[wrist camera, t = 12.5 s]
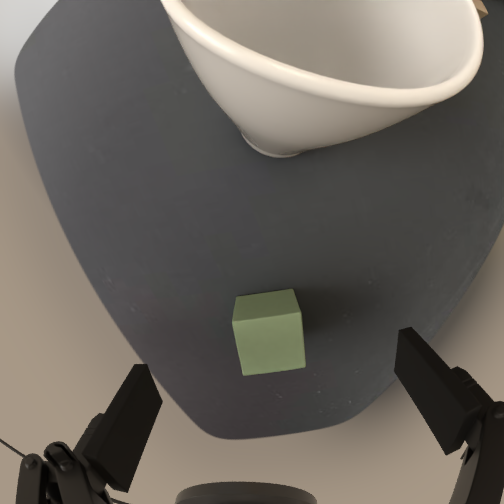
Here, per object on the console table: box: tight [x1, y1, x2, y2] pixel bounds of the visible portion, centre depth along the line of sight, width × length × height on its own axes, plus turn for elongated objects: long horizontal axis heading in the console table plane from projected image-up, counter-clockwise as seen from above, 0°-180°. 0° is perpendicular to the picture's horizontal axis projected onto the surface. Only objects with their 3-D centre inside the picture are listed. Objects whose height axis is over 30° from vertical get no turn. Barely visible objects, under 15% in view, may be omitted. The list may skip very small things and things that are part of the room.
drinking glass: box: [160, 0, 484, 158], centre depth 10 cm, size 7×7×15 cm
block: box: [232, 289, 306, 375], centre depth 18 cm, size 4×4×4 cm
